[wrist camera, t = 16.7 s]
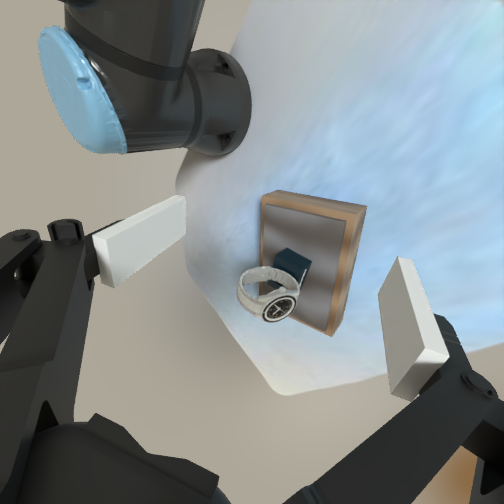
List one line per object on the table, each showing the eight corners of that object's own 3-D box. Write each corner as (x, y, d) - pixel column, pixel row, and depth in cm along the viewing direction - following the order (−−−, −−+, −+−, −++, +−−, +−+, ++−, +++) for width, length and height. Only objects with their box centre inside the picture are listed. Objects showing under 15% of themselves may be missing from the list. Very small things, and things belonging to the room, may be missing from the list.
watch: (312, 296, 39) (272, 340, 31) (269, 270, 43) (223, 303, 35) (324, 267, 36) (284, 308, 28) (277, 241, 40) (229, 271, 32)
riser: (278, 189, 42) (259, 196, 39) (367, 205, 35) (354, 216, 31) (272, 291, 52) (256, 304, 48) (342, 321, 44) (330, 339, 40)
